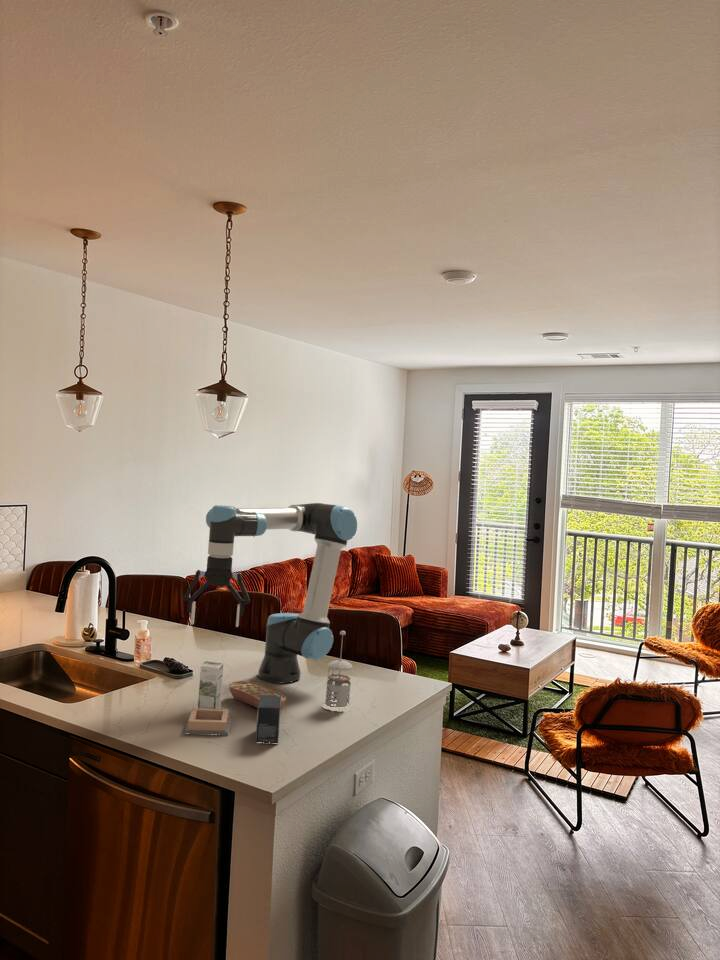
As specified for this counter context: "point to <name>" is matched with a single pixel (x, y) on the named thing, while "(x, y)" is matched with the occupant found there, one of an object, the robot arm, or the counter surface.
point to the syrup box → (210, 685)
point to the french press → (338, 682)
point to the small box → (268, 719)
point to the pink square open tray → (208, 721)
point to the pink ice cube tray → (252, 692)
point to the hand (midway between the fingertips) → (214, 624)
